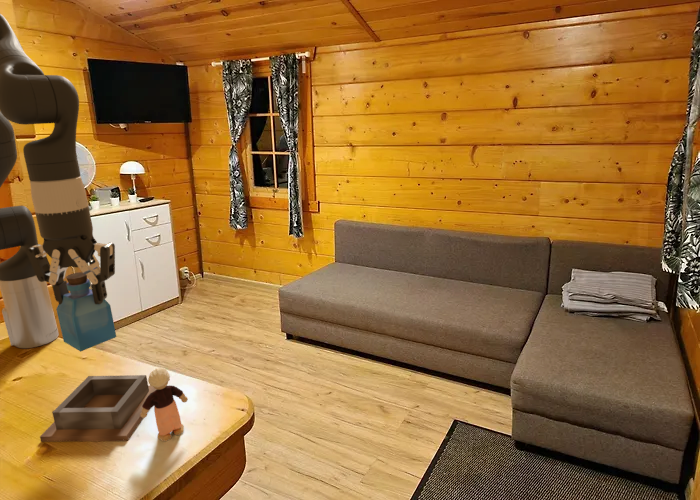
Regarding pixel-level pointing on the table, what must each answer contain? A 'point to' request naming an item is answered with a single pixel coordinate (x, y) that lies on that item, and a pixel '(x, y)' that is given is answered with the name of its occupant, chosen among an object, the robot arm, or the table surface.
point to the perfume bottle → (84, 315)
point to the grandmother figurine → (164, 404)
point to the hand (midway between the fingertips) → (82, 302)
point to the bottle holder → (100, 410)
